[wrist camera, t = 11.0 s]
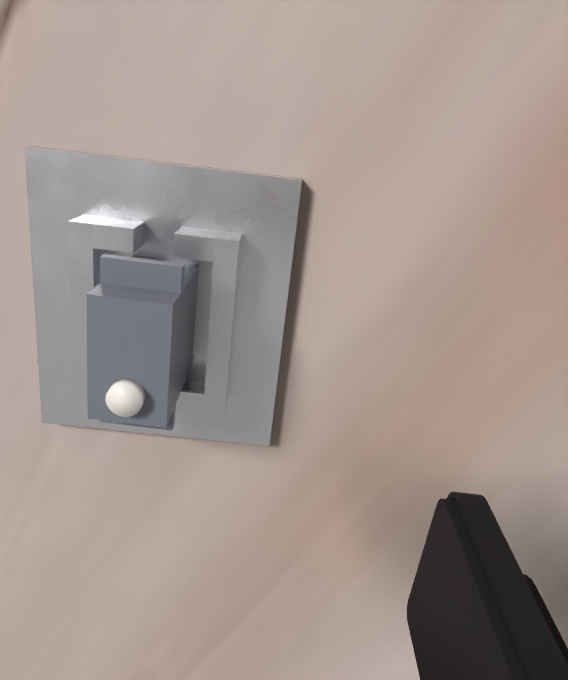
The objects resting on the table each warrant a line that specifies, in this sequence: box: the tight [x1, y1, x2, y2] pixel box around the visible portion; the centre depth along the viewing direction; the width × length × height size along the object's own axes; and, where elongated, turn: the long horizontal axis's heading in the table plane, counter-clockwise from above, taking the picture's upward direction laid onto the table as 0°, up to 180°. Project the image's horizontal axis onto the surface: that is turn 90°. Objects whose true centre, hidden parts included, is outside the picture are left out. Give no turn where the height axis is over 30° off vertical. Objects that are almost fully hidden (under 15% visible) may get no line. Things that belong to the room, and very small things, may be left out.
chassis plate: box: [25, 146, 302, 446], centre depth 29 cm, size 16×14×3 cm
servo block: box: [87, 254, 199, 430], centre depth 26 cm, size 8×4×8 cm, turn 173°
